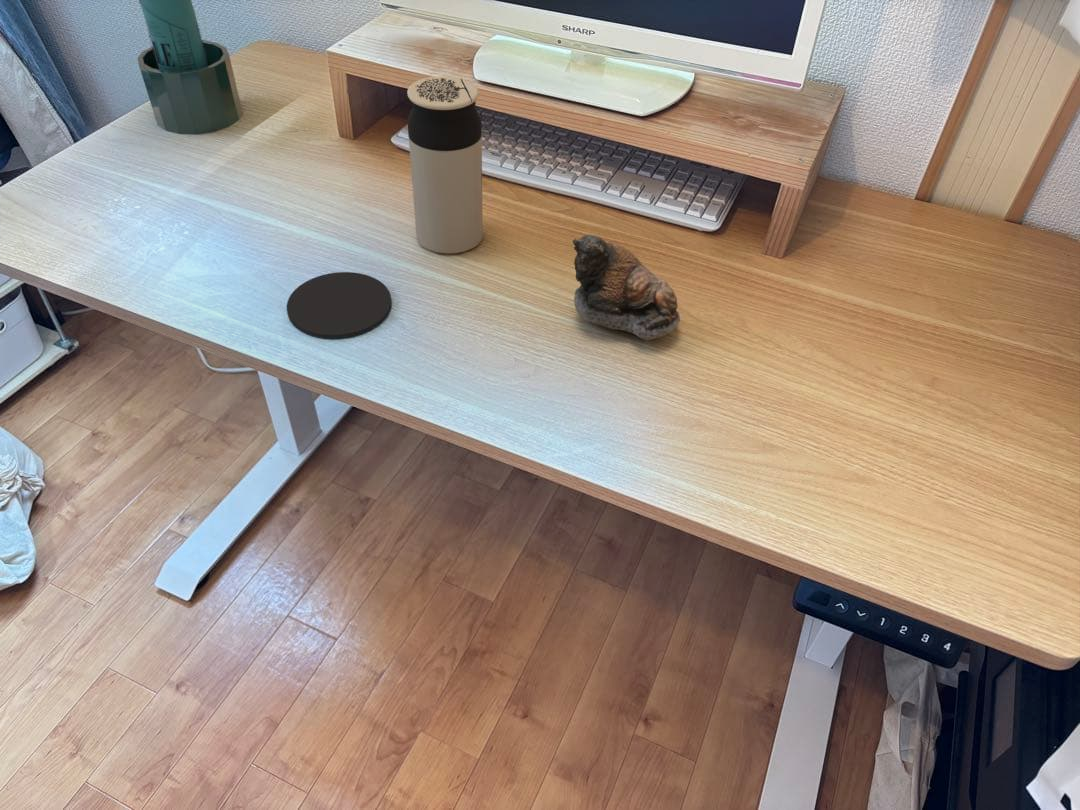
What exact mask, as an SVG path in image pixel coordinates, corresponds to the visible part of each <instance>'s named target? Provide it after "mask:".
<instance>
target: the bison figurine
mask: <svg viewBox="0 0 1080 810" xmlns="http://www.w3.org/2000/svg"><path fill="white" fill-rule="evenodd" d="M572 243H573V246H574V248H573V249H574V251H575V252H576V256H575V258H574V262H573V263H574V270H575V279H576V281H577V282H578V283H579V284H580V285H579V287H577V288H576V289H575V291H574V296H573V303H574V307H575V311H576V312H577V314H578V315H579V316H580V317H581V318H582V319H583V320H585V321H587V322H589V323H592V324H595V325H597V326H598V325H599V326H600V327H601V326H602V327H605V328H609V329H611V330H620V331H624V332H628V333H631V334H632V335H635V336H637V337H638V338H640V339H641V340H643V341H652V340H655V339H658V338H662V337H664V336H666V335H669V334H670V333H672V332H673V331H675V330H677V328H678V327H679V324H680V321H681V317H680V313H679V311H677V309H678V306H679V305H678V298H677V296H676V293H675V291H674V289H673V287H671V285H669V283H668V281H667V280H665V279H663V278H662V277H660V276H657V275H656V274H654V273H653V272H652V271H651V270H649V268H648V267H647V266H645V265H644V264H643V263H642V262H641V261H640V260H639V258H638V257H636V255H634V253H633V252H631V251H630V250H628V249H627V248H626V247H624V246H622V245H620V244H619V243H616V242H612V241H609V242H606V241H605V240H604V239H603V238H602V237H600V236H598V235H593V234H586V235H583V236H581V237H580V238H579V239H577V238H576V237H574V238H573V239H572Z"/></svg>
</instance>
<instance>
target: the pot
mask: <svg viewBox="0 0 1080 810" xmlns="http://www.w3.org/2000/svg"><path fill="white" fill-rule="evenodd" d="M202 43H203V45H204V46H203V47H205V48H204V51H206V53H205V55H206V59H207V60H208V61H207V63H208V66H207V67H203V68H200V69H196V70H188V71H162V70H159V69H158V68H159V67H158V66H157V64H158V63H157V62H156V60H157V59H155V57H154V53H153V51H154V50H152V48H153V45H152V47H151V46H150V47H149V48H147V49H144V50H142V52H141V53H140V54H139V55H138V56H137V57H136V59H137V64H138V67H139V70H140V73H141V76H142V77H141V78H142V80H143V84H144V87H145V90H146V92H147V96H148V99H149V102H150V106H151V109H152V112H153V115H154V118H155V121H156V125H157V126H158V127H159V128H161V129H162V130H164V131H166V132H169V133H174V134H178V135H203V134H210V133H215V132H218V131H221V130H225V129H227V128H230V127H231V126H233V125H234V124H236V123H237V122H239V121H240V119H241V117H242V116H243V109H242V105H241V101H240V100H241V99H240V96H239V92H238V87H237V83H236V78H235V74H234V70H233V65H232V61H231V57H230V53H229V51H228V48H227V47H226V46H224V45H222V44H220V43H218V42H217V41H216V42H215V41H211V40H206V39H202ZM156 63H157V64H156Z"/></svg>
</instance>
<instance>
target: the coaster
mask: <svg viewBox="0 0 1080 810" xmlns="http://www.w3.org/2000/svg"><path fill="white" fill-rule="evenodd" d="M392 302H393V301H392V295H391V292H390V290H389V289H388V287H387V286H386V285H385V284H384V283H383V282H382V281H380V280H378V279H377V278H375V277H373V276H371V275H367V274H364V273H361V272H360V273H359V272H353V271H339V272H337V271H336V272H331V273H325V274H321V275H318V276H314V277H313V278H310V279H308V280H306V281H304V282H303V283H302V284H300V285H299V286H298V287H297V288H295V289H294V290H293V292H291V294H290V296H289V297H288V299H287V303H286V314H287V317H288V319H289V322H290V324H292V326H293V327H294V328H295V329H297V330H298V331H300V332H301V333H303V334H304V335H307V336H310V337H314V338H317V339H324V340H342V339H349V338H355V337H358V336H360V335H361V336H362V335H364V334H367V333H368V332H370V331H372V330H374V329H376V328H378V327H379V326H380V325H381V324H383V323H384V321H385V320H386V319H387V318H388V316H389V314H390V313H391V309H392V304H393V303H392Z"/></svg>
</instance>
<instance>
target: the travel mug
mask: <svg viewBox="0 0 1080 810" xmlns="http://www.w3.org/2000/svg"><path fill="white" fill-rule="evenodd" d="M406 91H407V92H406V93H407V94H406V95H407V98H408V99H409V100H410V103H411V110H410V112H409V115H408V116H407V119H406V120H407V121H406V123H407V135H408V148H409V149H408V150H409V160H410V169H411V170H410V175H411V186H412V187H411V188H412V197H413V210H414V211H413V212H414V220H415V221H414V223H415V236H416V240H417V241H418V243H419V244H420V245H421V246H422V247H424V249H427V250H429V251H431V252H435V253H439V254H458V253H463V252H467V251H469V250H471V249H474V248H475V247H477V246H478V245H479V244H480V243H481V241H482V240H483V237H484V229H483V227H484V223H483V222H484V221H483V216H484V215H483V213H484V211H483V138H482V136H483V134H482V132H483V130H482V129H483V128H482V124H483V123H482V117H481V115H480V113H479V111H478V110H477V108H476V103H477V100H478V98H479V96H480V91H479V88H478V86H477V85H475V84H474V83H473V82H471V81H469V80H467V79H465V78H460V77H456V76H450V75H449V76H447V75H439V76H438V75H437V76H430V77H425V78H421V79H419V80H416V81H414V82H413V83H412V84H410V85H409V87H407V90H406Z"/></svg>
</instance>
